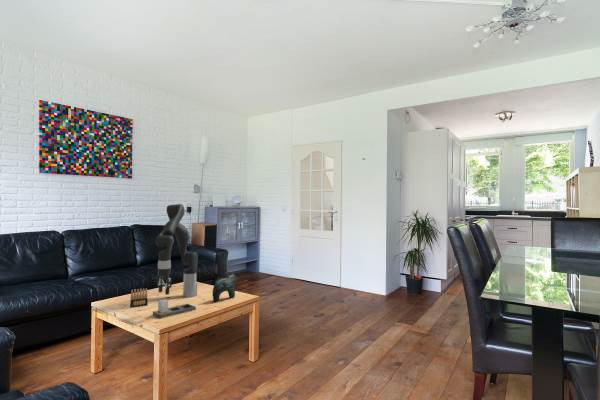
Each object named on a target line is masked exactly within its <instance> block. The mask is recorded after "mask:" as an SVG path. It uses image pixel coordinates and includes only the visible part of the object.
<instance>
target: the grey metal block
mask: <svg viewBox="0 0 600 400" xmlns="http://www.w3.org/2000/svg"><path fill="white" fill-rule="evenodd" d="M168 308H169V300H167V299H160V300H158V301H157V311H158V313H166V312H168Z"/></svg>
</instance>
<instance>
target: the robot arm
mask: <svg viewBox="0 0 600 400" xmlns="http://www.w3.org/2000/svg"><path fill="white" fill-rule="evenodd" d="M166 215H167V217H168V221H167V222H166V223H165V225H164V227H163V230H162V231H161V232H160V233H159V234H158V235H157V236H156V238H155V245H156V246H157V247H161V248H163V247H164V248H166V249H163V250H160V251H159V252H158V261H157V275H156V285H157V286H158V293H162V292H163V287H165V288H164V294H165V296H166V295H170V289H171V288H172V286H173V285H172V284H173V283H172V277H169V276H170V275H171V273H172V271H171V270H172V262H171V253H172V249H173V245H174V242H175V239H176V242H177V245H178V249H179V253H180V257H181V258H180V260H181V262H182V263H183V264H185V265H190V266H189V267H188V268H187V267H186V268H184V269H183V284H182V285H183V289H182V290H183V293H182V296H183V297H184V298H191V297H196V296H197V295H198V282H197V271H198V270H197V269H198V259H199V256H198V253H197V252H196V251H195V252H194V251H188V249H187V246H188V243H189V242H190V234H189V230H188V228H187V227H185V226H184V225H183V224H182V223H181V221H182V219H183V217H184V215H185V206H184V205H183V204H181V203H179V204H178V203H177V204H169V205H167V206H166ZM174 235H175V236H174ZM173 236H174V237H175V238H174V237H173Z"/></svg>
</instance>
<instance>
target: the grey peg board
mask: <svg viewBox="0 0 600 400" xmlns="http://www.w3.org/2000/svg"><path fill="white" fill-rule="evenodd" d="M196 309H197V306H195V305H192V304H190V303H185V304H181V305H175V306H171V307H168V312H166V313H158V310H155V311H152V316H155V317H156V318H159V319H165V318H168V317H169V318H170V317H172V316H177V315H180V314H183V313H184V314H185V313H189V312H193V311H196ZM192 310H193V311H192Z"/></svg>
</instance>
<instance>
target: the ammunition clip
mask: <svg viewBox="0 0 600 400" xmlns="http://www.w3.org/2000/svg"><path fill="white" fill-rule="evenodd" d="M130 292H131V293H130V303H129V307H130V308H133V309H134V308H140V307H146V306H147V307H148V306H149V305H148V304H149V303H148V288H147V287H146V288H143V289H142V288H140V289H139V288H137V289H136V288H134V290H133V289H131V291H130Z"/></svg>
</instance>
